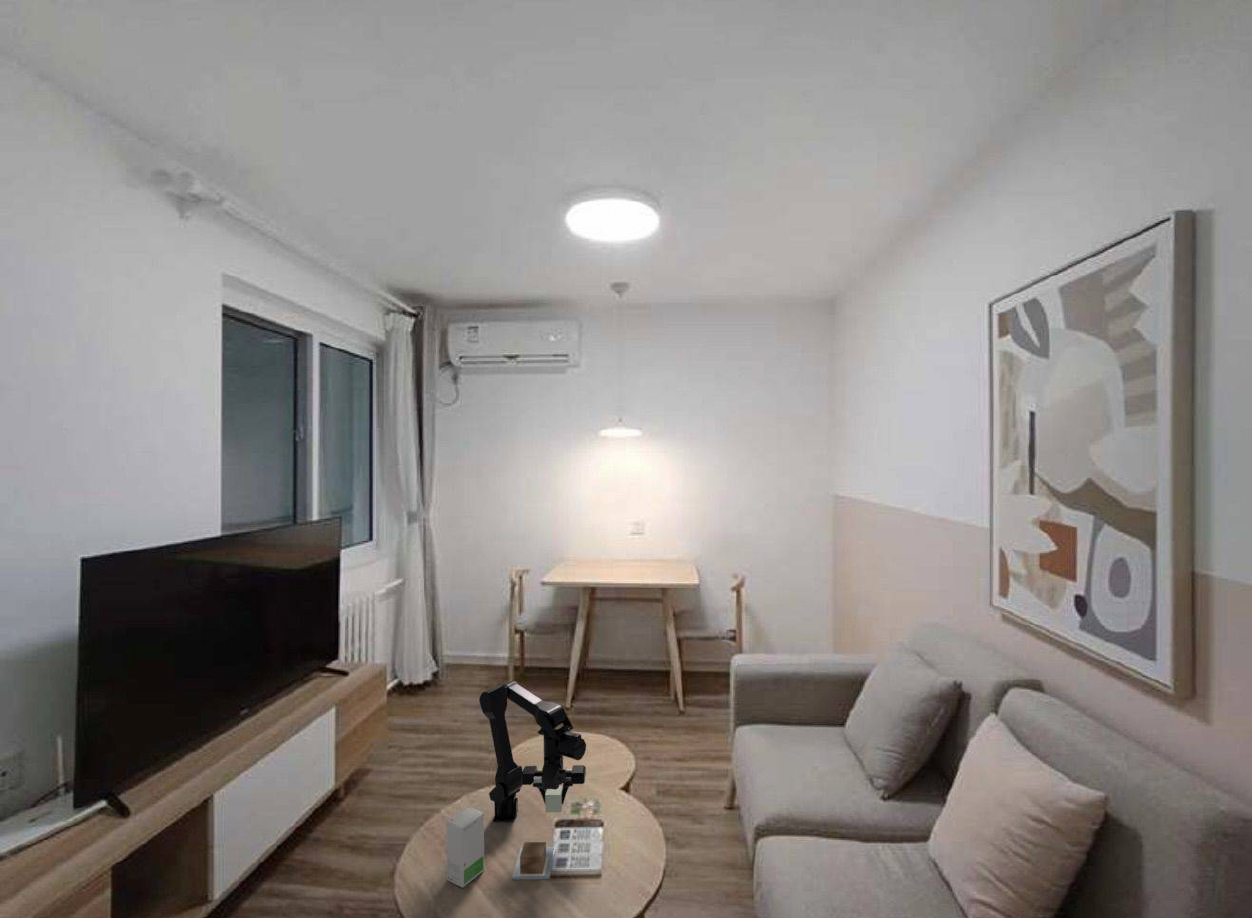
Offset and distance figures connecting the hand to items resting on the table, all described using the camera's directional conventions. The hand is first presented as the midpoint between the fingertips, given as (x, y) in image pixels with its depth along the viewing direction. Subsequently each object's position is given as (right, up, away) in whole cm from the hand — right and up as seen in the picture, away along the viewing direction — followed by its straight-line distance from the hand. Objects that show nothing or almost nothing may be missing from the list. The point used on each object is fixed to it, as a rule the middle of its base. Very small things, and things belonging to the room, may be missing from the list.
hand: (554, 803), depth 168 cm
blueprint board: (-4, -10, -11) cm, 15 cm away
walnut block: (-4, -9, -13) cm, 16 cm away
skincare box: (-22, -10, -15) cm, 29 cm away
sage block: (0, -1, 0) cm, 1 cm away
